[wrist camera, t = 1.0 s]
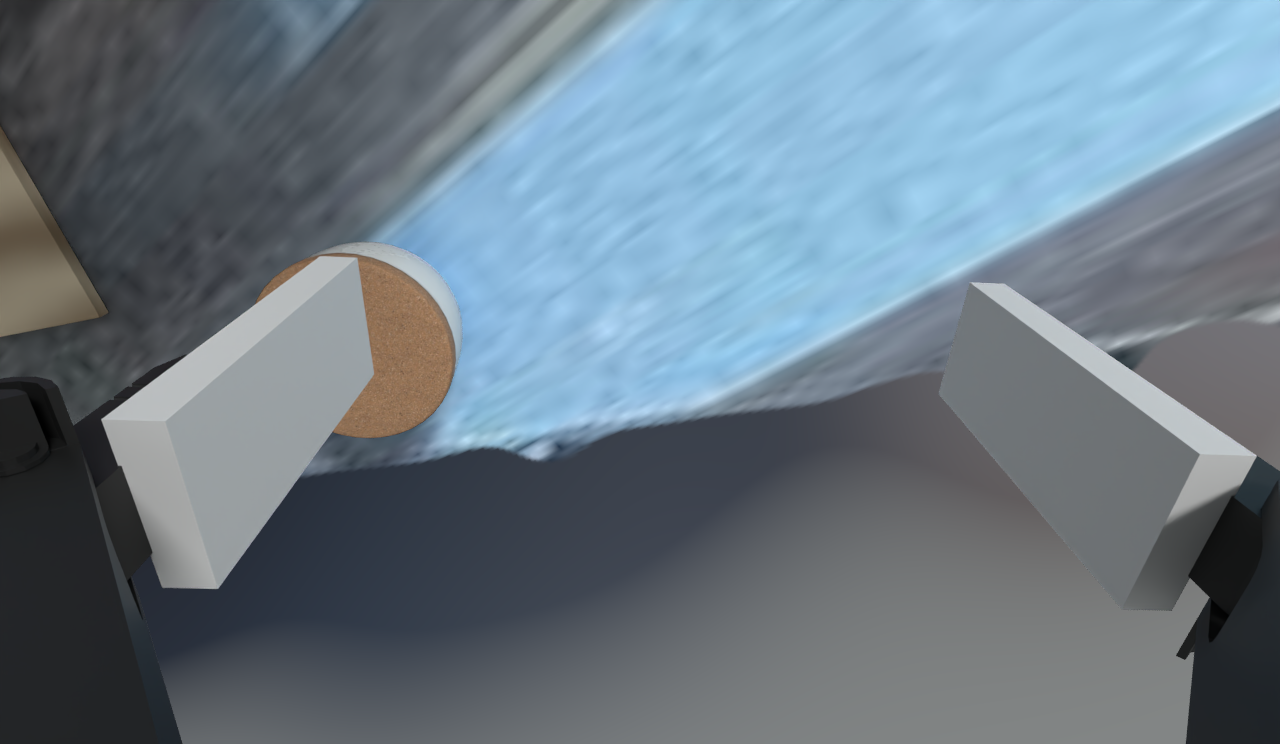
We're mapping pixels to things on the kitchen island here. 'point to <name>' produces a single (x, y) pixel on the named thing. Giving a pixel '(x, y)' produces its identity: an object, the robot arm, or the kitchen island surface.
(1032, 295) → the kitchen island surface
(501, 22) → the kitchen island surface
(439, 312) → the lidded jar
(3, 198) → the oak board
